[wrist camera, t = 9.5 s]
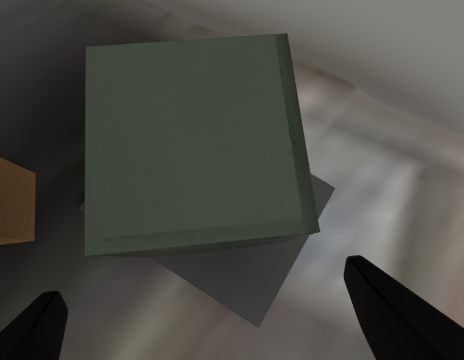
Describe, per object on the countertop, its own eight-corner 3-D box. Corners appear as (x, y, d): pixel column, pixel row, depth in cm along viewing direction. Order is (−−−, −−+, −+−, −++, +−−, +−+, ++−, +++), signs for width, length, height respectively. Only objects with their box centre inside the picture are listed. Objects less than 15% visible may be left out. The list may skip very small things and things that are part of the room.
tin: (266, 245, 18) (320, 231, 8) (159, 256, 18) (84, 256, 8) (254, 145, 19) (287, 33, 10) (155, 154, 19) (86, 46, 9)
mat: (332, 189, 19) (335, 188, 19) (257, 325, 17) (258, 327, 17) (169, 93, 21) (167, 89, 20) (81, 210, 19) (77, 209, 18)
